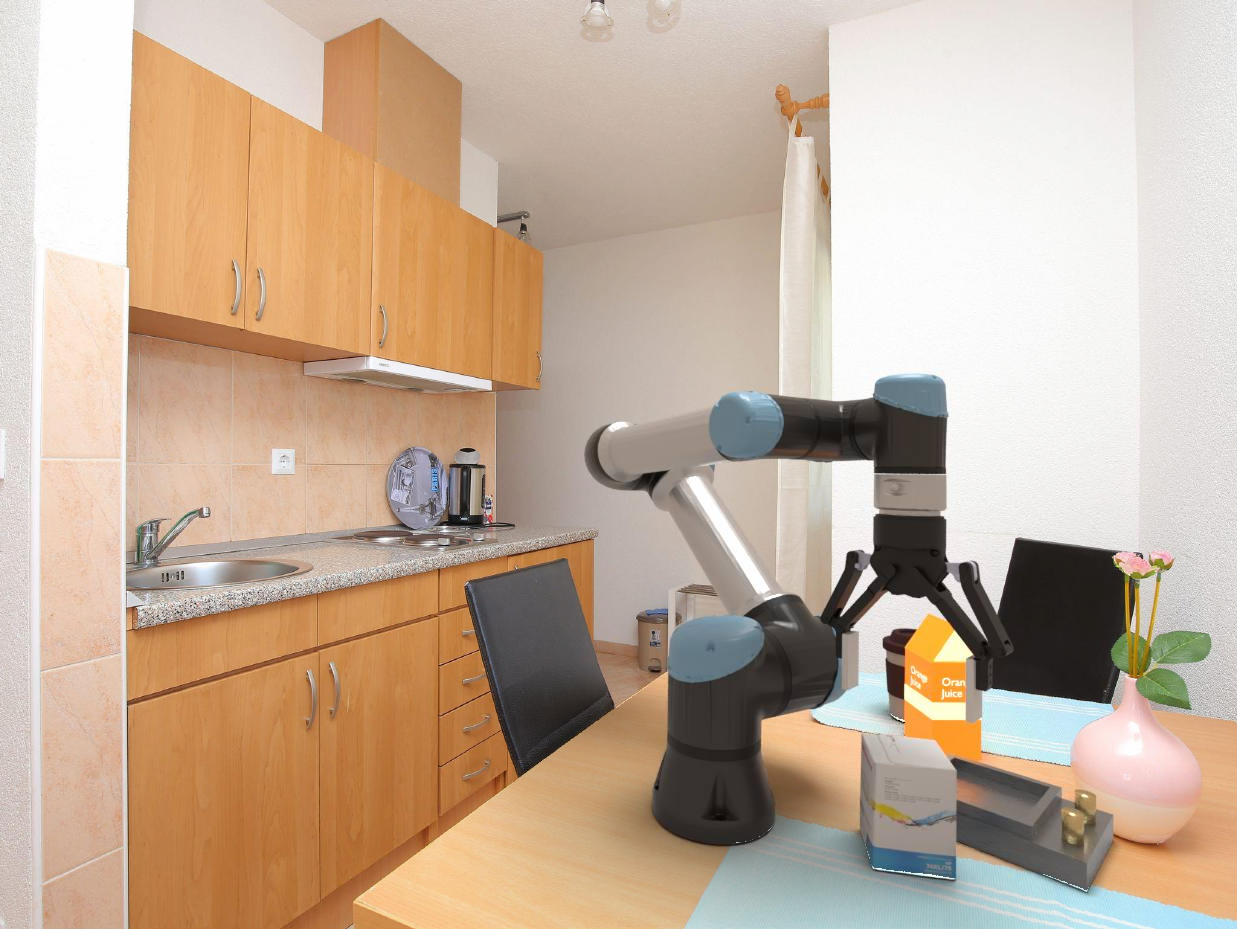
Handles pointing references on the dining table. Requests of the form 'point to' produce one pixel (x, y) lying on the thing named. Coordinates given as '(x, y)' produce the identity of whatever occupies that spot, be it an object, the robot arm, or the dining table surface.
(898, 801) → the ink box
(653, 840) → the dining table surface
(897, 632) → the coffee cup
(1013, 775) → the grey tray with knobs
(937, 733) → the orange juice
